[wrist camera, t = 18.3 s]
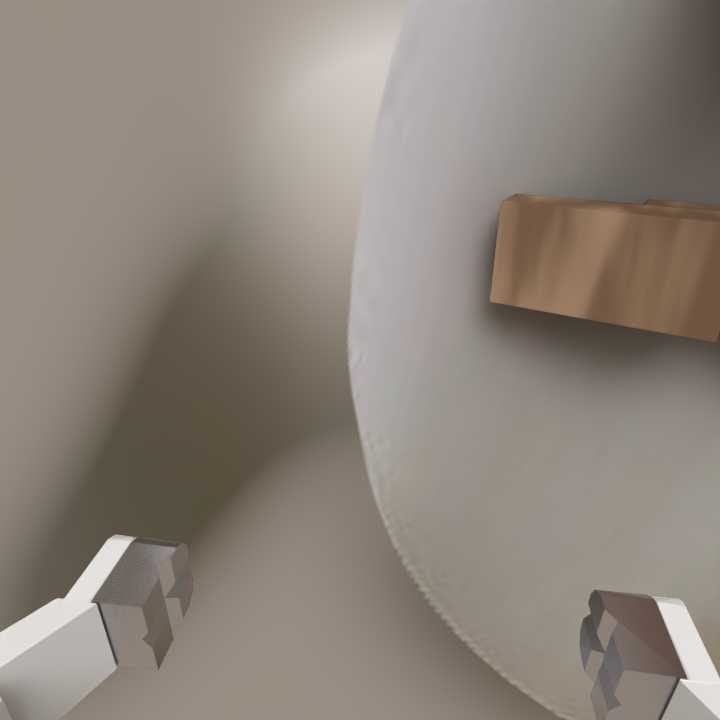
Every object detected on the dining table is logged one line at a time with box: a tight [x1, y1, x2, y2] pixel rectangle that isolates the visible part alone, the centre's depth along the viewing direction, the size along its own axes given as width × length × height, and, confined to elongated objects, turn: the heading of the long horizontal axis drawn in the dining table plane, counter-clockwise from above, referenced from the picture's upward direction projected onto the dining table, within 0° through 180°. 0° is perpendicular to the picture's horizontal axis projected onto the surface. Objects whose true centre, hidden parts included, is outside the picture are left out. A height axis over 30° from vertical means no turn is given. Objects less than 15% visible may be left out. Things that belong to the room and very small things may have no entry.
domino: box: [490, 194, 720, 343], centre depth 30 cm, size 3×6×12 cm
